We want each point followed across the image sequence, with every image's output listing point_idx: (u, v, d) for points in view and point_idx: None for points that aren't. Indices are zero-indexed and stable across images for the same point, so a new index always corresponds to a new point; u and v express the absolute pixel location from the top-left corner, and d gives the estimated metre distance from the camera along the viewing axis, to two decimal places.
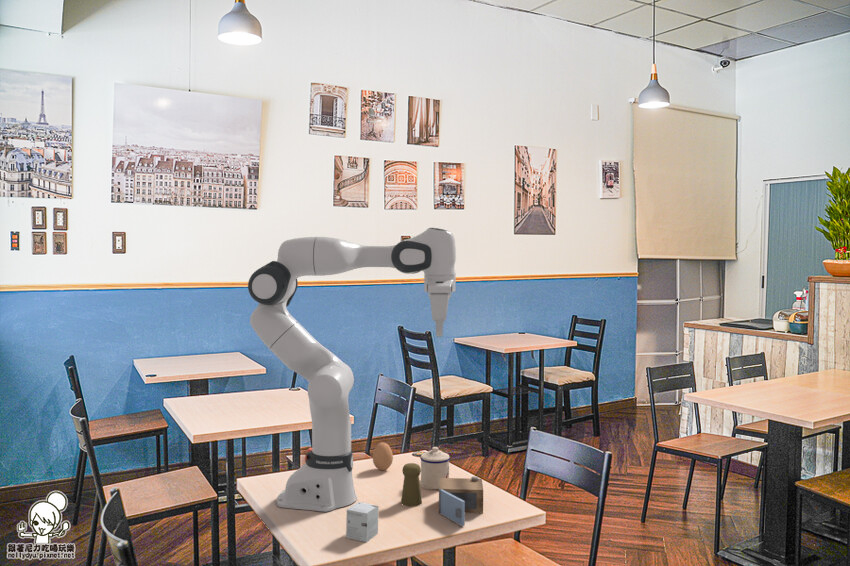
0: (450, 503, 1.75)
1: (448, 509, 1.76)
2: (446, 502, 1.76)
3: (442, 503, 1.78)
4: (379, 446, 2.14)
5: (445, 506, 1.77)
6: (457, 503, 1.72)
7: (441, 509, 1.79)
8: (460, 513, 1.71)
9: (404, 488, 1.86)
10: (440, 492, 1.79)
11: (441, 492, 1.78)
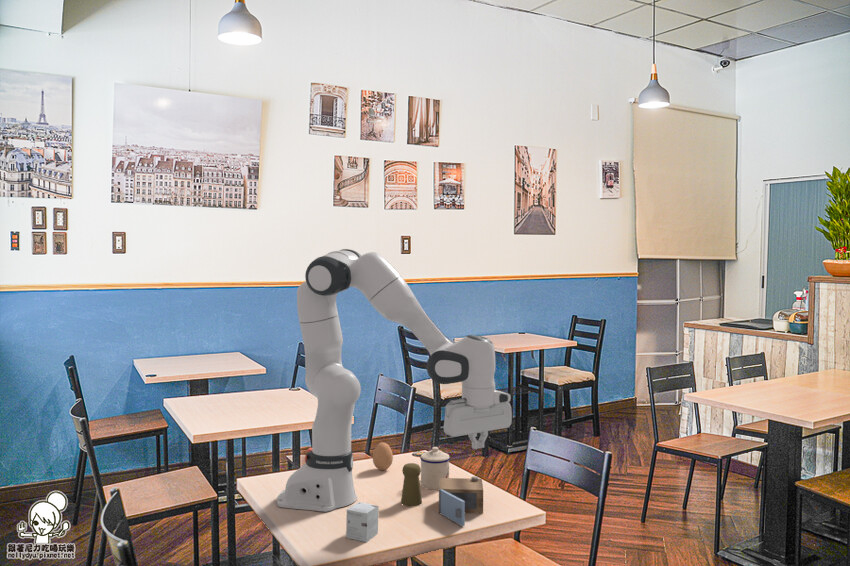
0: (450, 503, 1.75)
1: (448, 509, 1.76)
2: (446, 502, 1.76)
3: (442, 503, 1.78)
4: (379, 446, 2.14)
5: (445, 506, 1.77)
6: (457, 503, 1.72)
7: (441, 509, 1.79)
8: (460, 513, 1.71)
9: (404, 488, 1.86)
10: (440, 492, 1.79)
11: (441, 492, 1.78)
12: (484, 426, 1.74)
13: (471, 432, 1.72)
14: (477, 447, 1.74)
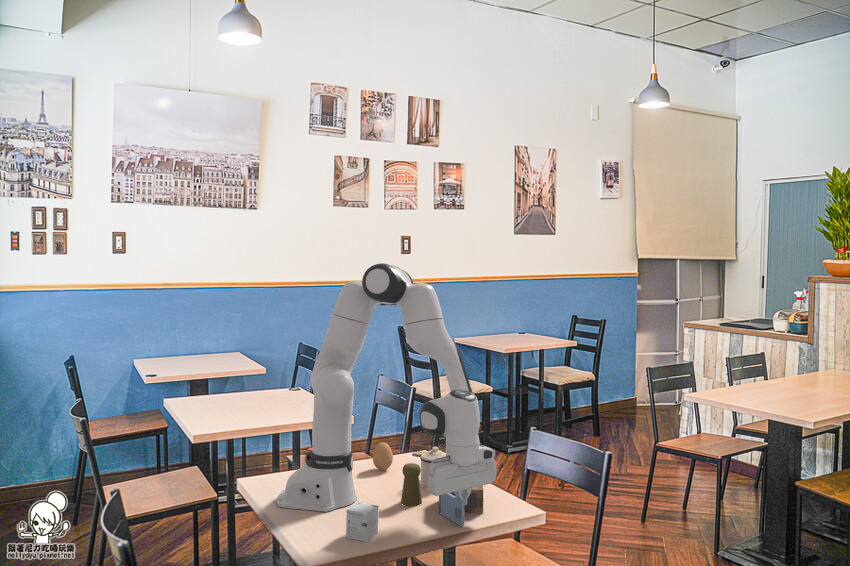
0: (450, 503, 1.75)
1: (448, 509, 1.76)
2: (446, 502, 1.76)
3: (442, 503, 1.78)
4: (379, 446, 2.14)
5: (445, 506, 1.77)
6: (457, 503, 1.72)
7: (441, 509, 1.79)
8: (460, 513, 1.71)
9: (404, 488, 1.86)
10: None
11: None
12: (468, 483, 1.72)
13: (455, 490, 1.70)
14: None
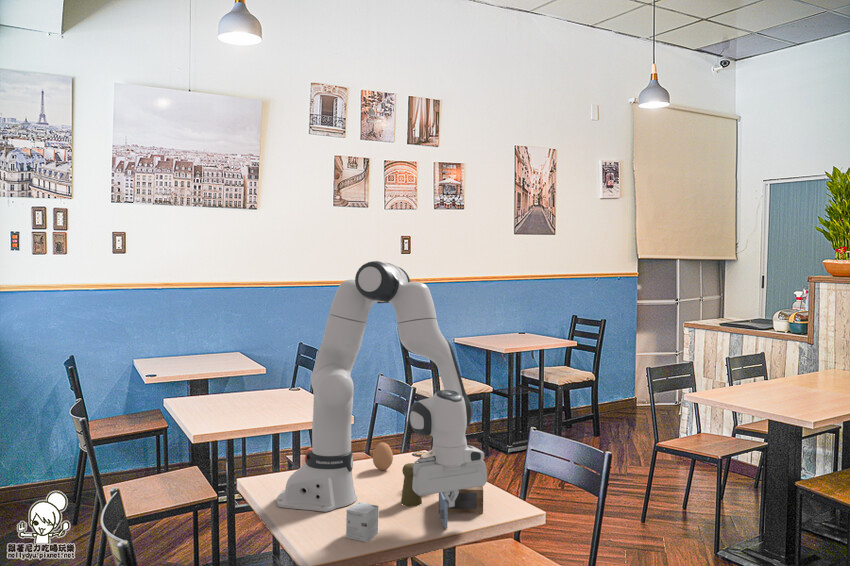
0: (441, 504, 1.74)
1: (441, 510, 1.75)
2: (441, 502, 1.76)
3: (440, 503, 1.78)
4: (379, 446, 2.14)
5: (440, 506, 1.77)
6: (443, 504, 1.71)
7: (439, 509, 1.79)
8: (443, 515, 1.69)
9: (404, 488, 1.86)
10: None
11: None
12: (455, 484, 1.70)
13: (441, 491, 1.69)
14: (451, 505, 1.71)
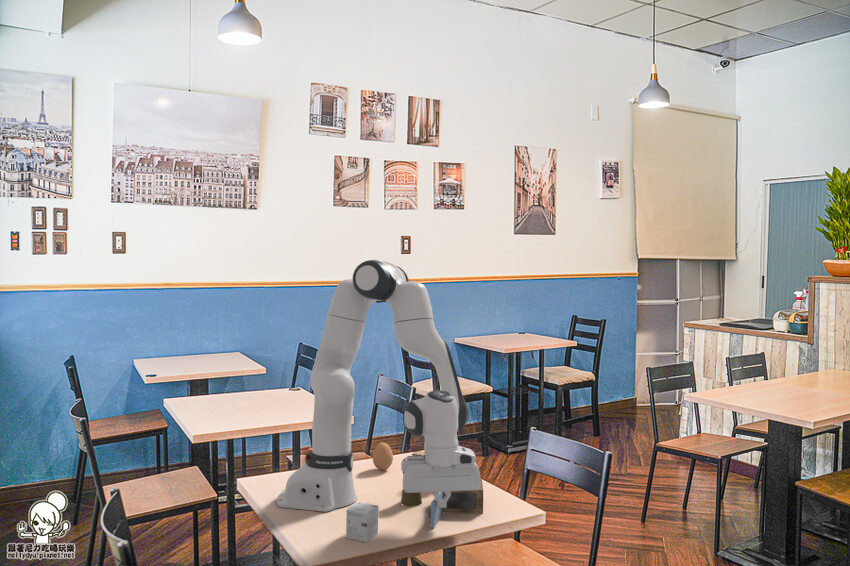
0: None
1: None
2: None
3: None
4: (379, 446, 2.14)
5: None
6: None
7: None
8: (430, 514, 1.70)
9: None
10: None
11: None
12: (445, 485, 1.69)
13: (429, 491, 1.69)
14: (440, 506, 1.70)
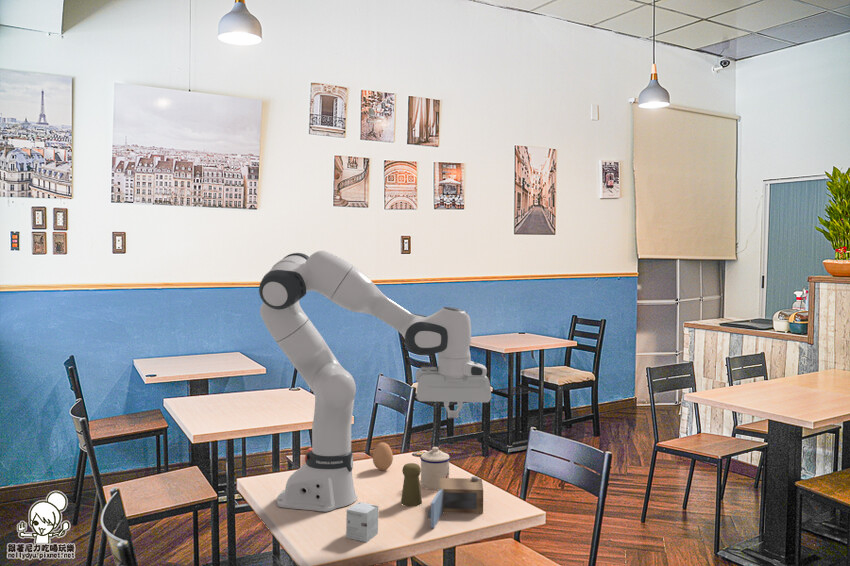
0: None
1: None
2: None
3: None
4: (379, 446, 2.14)
5: None
6: None
7: None
8: (430, 514, 1.70)
9: (404, 488, 1.86)
10: None
11: None
12: (456, 396, 1.77)
13: (441, 400, 1.77)
14: (450, 416, 1.78)
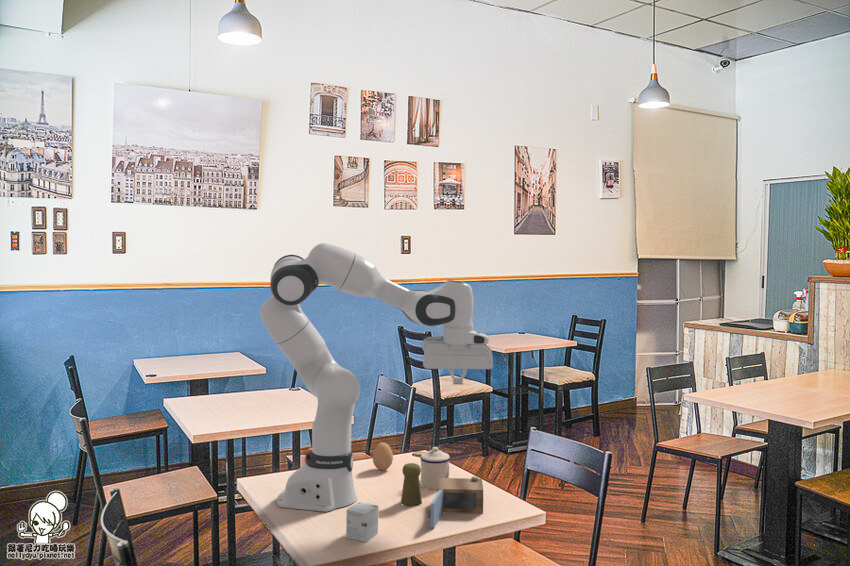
0: None
1: None
2: None
3: None
4: (379, 446, 2.14)
5: None
6: None
7: None
8: (430, 514, 1.70)
9: (404, 488, 1.86)
10: None
11: None
12: (460, 363, 1.89)
13: (446, 367, 1.89)
14: (455, 382, 1.90)
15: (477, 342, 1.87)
